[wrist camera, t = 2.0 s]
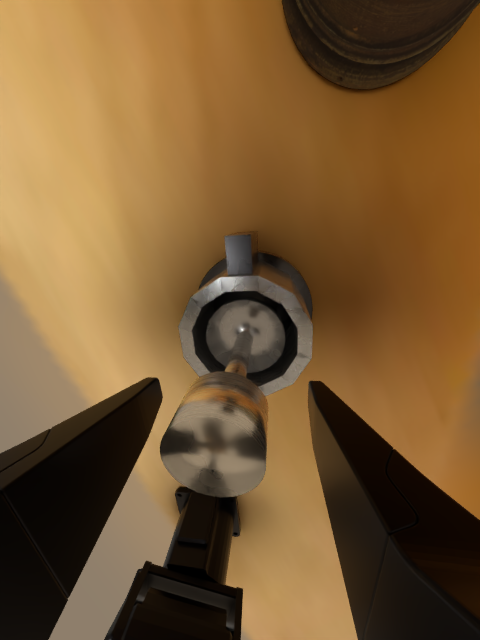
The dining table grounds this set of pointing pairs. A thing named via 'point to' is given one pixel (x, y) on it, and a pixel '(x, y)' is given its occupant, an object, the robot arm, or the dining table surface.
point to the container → (372, 36)
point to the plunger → (227, 405)
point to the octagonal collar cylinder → (259, 283)
